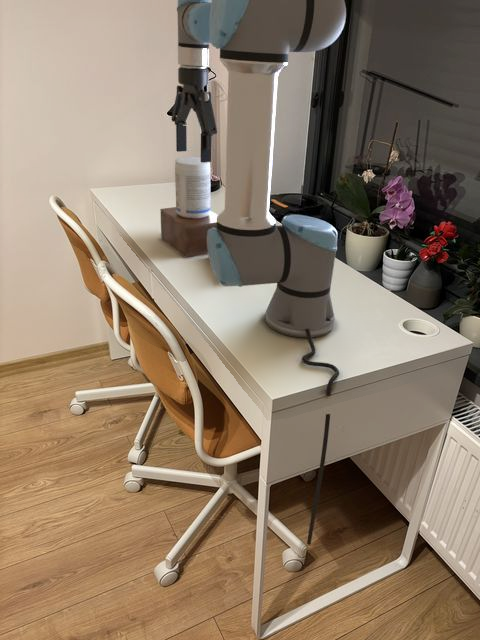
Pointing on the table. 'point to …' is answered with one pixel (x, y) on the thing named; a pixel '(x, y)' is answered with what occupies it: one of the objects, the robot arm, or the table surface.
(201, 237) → the chest
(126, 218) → the table surface
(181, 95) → the robot arm
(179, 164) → the supplement tub
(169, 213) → the lid
